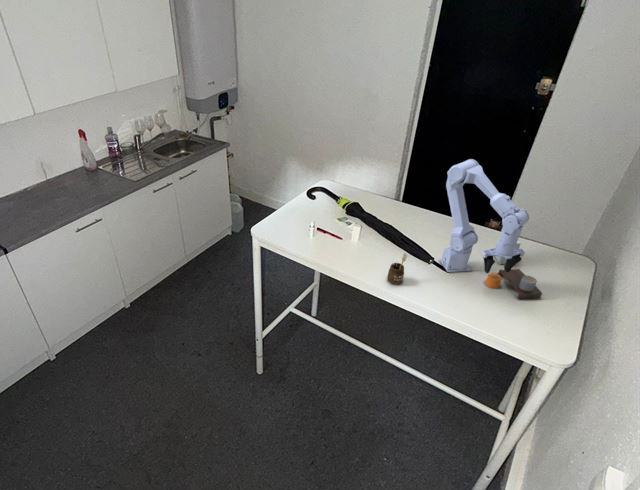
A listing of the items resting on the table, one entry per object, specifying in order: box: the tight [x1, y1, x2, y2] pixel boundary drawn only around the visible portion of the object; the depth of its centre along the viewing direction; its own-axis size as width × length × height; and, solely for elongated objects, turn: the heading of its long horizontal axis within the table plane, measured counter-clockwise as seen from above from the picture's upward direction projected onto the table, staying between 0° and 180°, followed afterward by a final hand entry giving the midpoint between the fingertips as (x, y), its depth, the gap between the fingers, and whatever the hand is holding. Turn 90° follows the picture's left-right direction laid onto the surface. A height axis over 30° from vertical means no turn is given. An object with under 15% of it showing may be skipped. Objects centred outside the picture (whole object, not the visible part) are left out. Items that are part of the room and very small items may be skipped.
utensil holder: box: [387, 252, 408, 285], centre depth 159 cm, size 6×6×12 cm
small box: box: [494, 232, 522, 265], centre depth 167 cm, size 8×6×10 cm
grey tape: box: [519, 275, 538, 292], centre depth 150 cm, size 5×5×4 cm
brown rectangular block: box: [497, 268, 543, 300], centre depth 155 cm, size 8×15×3 cm, turn 2°
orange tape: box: [484, 272, 503, 289], centre depth 156 cm, size 5×5×4 cm
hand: (496, 271), depth 154 cm, fingers open, 7 cm apart
